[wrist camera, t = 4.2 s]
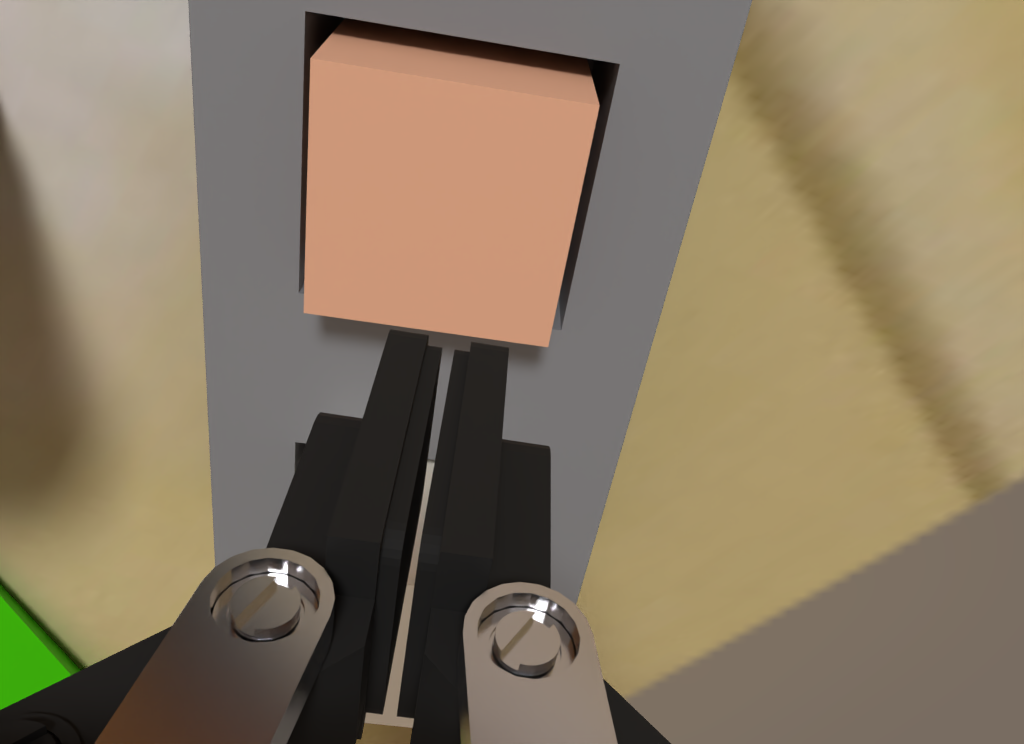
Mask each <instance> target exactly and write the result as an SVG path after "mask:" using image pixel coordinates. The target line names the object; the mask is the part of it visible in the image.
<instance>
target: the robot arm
mask: <svg viewBox="0 0 1024 744" xmlns="http://www.w3.org/2000/svg"><path fill="white" fill-rule="evenodd" d="M428 342H429V335H425V334H419V333H412V332H406V331H399V330H393V329H390V331H389V333H388V337H387V340H386V343H385V347H384V350H383V353H382V356H381V360H380V363H379V366H378V370H377V373H376V376H375V379H374V383H373V386H372V389H371V393H370V396H369V399H368V402H367V406H366V409H365V412H364V415H363V418H357V417H350V416H343V415H337V414H330V413H323V412H320V413H319V414H318V415H317V417H316V419H315V421H314V424H313V426H312V429H311V431H310V434H309V437H308V439H307V442H306V445H305V447H304V450H303V453H302V455H301V458H300V460H299V463H298V466H297V468H296V471H295V474H294V476H293V479H292V481H291V484H290V487H289V489H288V492H287V495H286V497H285V500H284V502H283V505H282V508H281V510H280V513H279V516H278V518H277V521H276V523H275V526H274V529H273V531H272V534H271V537H270V539H269V542H268V544H267V547H266V548H264V549H254V550H250V551H247V552H244V553H240V554H237V555H234V556H232V557H230V558H229V559H227V560H225V561H224V562H222V563H221V564H219V565H217V566H216V567H214V569H213V570H212V571H211V572H210V573H209V574H208V575H207V576H206V577H205V578H204V579H203V581H202V582H201V583H200V585H199V586H198V588H197V589H196V591H195V592H194V594H193V595H192V597H191V598H190V600H189V602H188V603H187V605H186V606H185V608H184V609H183V611H182V612H181V614H180V615H179V617H178V618H177V620H176V621H175V623H174V624H173V626H171V627H169V628H167V629H165V630H163V631H161V632H159V633H157V634H155V635H153V636H151V637H149V638H147V639H145V640H143V641H140V642H138V643H136V644H134V645H132V646H130V647H128V648H126V649H124V650H122V651H120V652H118V653H116V654H114V655H112V656H110V657H108V658H106V659H104V660H102V661H100V662H97V663H95V664H93V665H91V666H89V667H87V668H85V669H83V670H81V671H79V672H77V673H75V674H73V675H71V676H69V677H67V678H65V679H63V680H61V681H59V682H56V683H54V684H52V685H50V686H48V687H46V688H44V689H42V690H40V691H38V692H36V693H34V694H32V695H30V696H28V697H26V698H24V699H22V700H20V701H18V702H16V703H13V704H11V705H9V706H7V707H5V708H3V709H1V710H0V744H356V739H361V737H362V732H363V727H364V722H365V717H366V713H374V714H382V715H383V711H384V706H385V701H386V695H387V690H388V684H389V679H390V673H391V668H392V663H393V657H394V652H395V646H396V641H397V635H398V630H399V625H400V619H401V614H402V608H403V603H404V597H405V592H406V587H407V581H408V576H409V570H410V565H411V559H412V554H413V549H414V543H415V538H416V532H417V527H418V521H419V516H420V510H421V504H422V498H423V491H424V484H425V476H426V469H427V461H428V454H429V446H430V439H431V431H432V424H433V416H434V408H435V401H436V393H437V386H438V378H439V371H440V363H441V356H442V347H436V346H429V345H428ZM508 357H509V347H503V346H496V345H490V344H483V343H477V342H471V346H470V352H468V351H462V350H454V355H453V361H452V366H451V372H450V378H449V383H448V389H447V395H446V400H445V406H444V412H443V417H442V423H441V429H440V434H439V440H438V446H437V451H436V457H435V463H434V468H433V474H432V480H431V486H430V491H429V497H428V503H427V508H426V514H425V520H424V525H423V531H422V537H421V543H420V550H419V556H418V563H417V570H416V577H415V585H414V592H413V599H412V607H411V614H410V621H409V629H408V636H407V643H406V651H405V658H404V665H403V673H402V680H401V688H400V695H399V702H398V710H397V717H405V718H413V719H414V722H413V728H412V735H411V742H410V744H671V743H670V742H669V741H668V740H667V739H666V738H664V737H663V736H662V735H661V734H660V733H659V732H658V731H657V730H656V729H655V728H654V727H653V726H652V725H651V724H650V723H649V722H648V721H647V720H646V719H645V718H644V717H643V716H641V715H640V714H639V713H638V712H637V711H636V710H635V709H634V708H633V707H632V706H631V705H630V704H629V703H628V702H627V701H626V700H625V699H624V698H623V697H622V696H621V695H620V694H619V693H618V692H617V691H616V690H614V689H613V688H612V687H611V686H610V685H609V684H608V683H607V682H606V681H605V680H604V679H603V676H602V672H601V668H600V663H599V659H598V654H597V650H596V645H595V641H594V636H593V633H592V631H591V628H590V626H589V623H588V621H587V618H586V617H585V616H584V614H583V613H582V612H581V611H580V610H579V608H578V607H577V606H576V605H575V603H573V602H572V601H570V600H569V599H568V598H566V597H565V596H563V595H562V594H561V593H559V592H557V591H555V590H552V589H551V450H550V447H549V446H546V445H539V444H532V443H526V442H519V441H512V440H505V439H502V434H503V421H504V408H505V395H506V383H507V370H508Z"/></svg>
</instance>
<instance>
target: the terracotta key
mask: <svg viewBox="0 0 1024 744" xmlns="http://www.w3.org/2000/svg"><path fill="white" fill-rule="evenodd" d="M599 106H600V105H599V101H598V98H597V94H596V90H595V86H594V83H593V79H592V75H591V71H590V68H589V64H588V60H587V58H582V57H576V56H570V55H564V54H558V53H552V52H546V51H540V50H534V49H528V48H522V47H516V46H510V45H504V44H498V43H492V42H487V41H481V40H475V39H469V38H463V37H457V36H451V35H445V34H439V33H433V32H427V31H421V30H415V29H409V28H403V27H397V26H391V25H385V24H379V23H373V22H367V21H361V20H355V19H350V18H345V19H344V20H343V21H342V22H341V24H340V25H339V26H338V27H337V28H336V29H335V30H334V32H333V33H332V34H331V35H330V36H329V37H328V39H327V40H326V41H325V42H324V43H323V44H322V45H321V47H320V48H319V49H318V50H317V51H316V52H315V54H314V55H313V56H312V57H311V58H310V92H309V130H308V167H307V204H306V242H305V279H304V313H307V314H314V315H322V316H329V317H336V318H343V319H350V320H357V321H364V322H371V323H379V324H386V325H393V326H400V327H407V328H414V329H421V330H428V331H436V332H443V333H450V334H457V335H464V336H471V337H478V338H485V339H493V340H500V341H507V342H514V343H521V344H528V345H535V346H542V347H548V345H549V341H550V336H551V331H552V327H553V322H554V317H555V313H556V308H557V303H558V298H559V294H560V289H561V284H562V280H563V275H564V270H565V266H566V261H567V256H568V252H569V247H570V242H571V238H572V233H573V228H574V223H575V219H576V214H577V209H578V205H579V200H580V195H581V191H582V186H583V181H584V177H585V172H586V167H587V163H588V158H589V153H590V148H591V144H592V139H593V134H594V130H595V125H596V120H597V116H598V111H599Z"/></svg>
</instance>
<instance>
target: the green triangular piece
mask: <svg viewBox="0 0 1024 744" xmlns="http://www.w3.org/2000/svg"><path fill="white" fill-rule="evenodd" d="M79 671H81V670H80V669H79V668H78V666H77V665H76V664H75V663H74V662H73V661H72V660H71V659H70V658H69V657H68V656H67V655H66V654H65V653H64V652H63V650H62V649H61V648H60V647H59V646H58V645H57V644H56V643H55V642H54V641H53V640H52V639H51V638H50V637H49V636H48V634H47V633H46V632H45V631H44V630H43V629H42V628H41V627H40V626H39V625H38V624H37V623H36V622H35V621H34V620H33V619H32V617H31V616H30V615H29V614H28V613H27V612H26V611H25V610H24V609H23V608H22V607H21V606H20V605H19V604H18V603H17V601H16V600H15V599H14V598H13V597H12V596H11V595H10V594H9V593H8V592H7V591H6V590H5V589H4V588H3V587H2V585H1V584H0V710H1V709H3V708H5V707H7V706H9V705H11V704H13V703H16V702H18V701H20V700H22V699H24V698H26V697H28V696H30V695H32V694H34V693H36V692H38V691H40V690H42V689H44V688H46V687H48V686H50V685H52V684H54V683H56V682H59V681H61V680H63V679H65V678H67V677H69V676H71V675H73V674H75V673H77V672H79Z"/></svg>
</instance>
